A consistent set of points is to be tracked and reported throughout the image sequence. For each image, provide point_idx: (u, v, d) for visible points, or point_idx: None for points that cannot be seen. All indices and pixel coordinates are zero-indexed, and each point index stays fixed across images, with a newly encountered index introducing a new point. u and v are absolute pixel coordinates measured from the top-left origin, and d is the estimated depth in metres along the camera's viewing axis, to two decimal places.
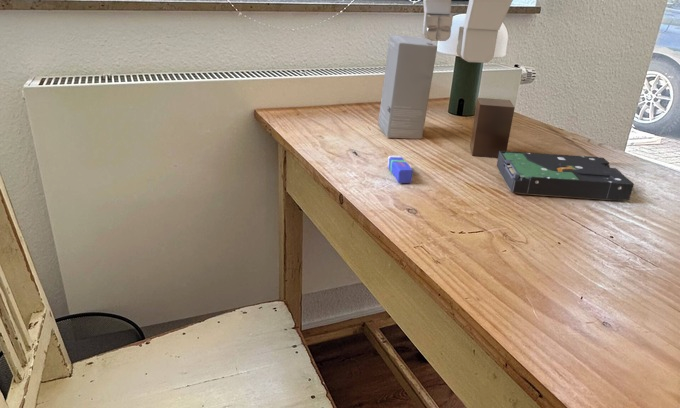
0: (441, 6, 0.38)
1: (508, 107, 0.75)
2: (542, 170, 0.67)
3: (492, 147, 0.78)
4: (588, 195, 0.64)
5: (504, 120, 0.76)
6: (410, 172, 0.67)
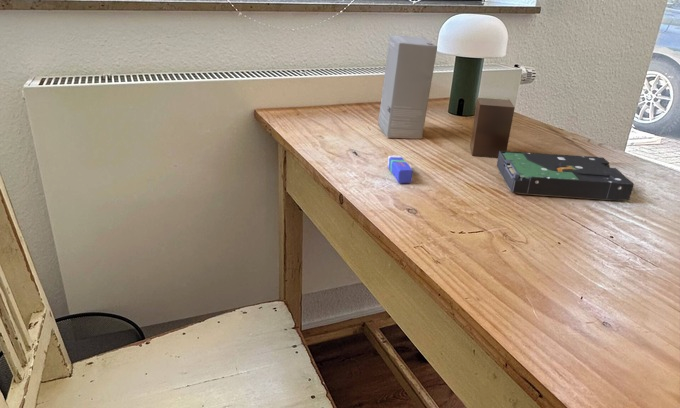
0: None
1: (508, 107, 0.75)
2: (542, 170, 0.67)
3: (492, 147, 0.78)
4: (588, 195, 0.64)
5: (504, 120, 0.76)
6: (410, 172, 0.67)
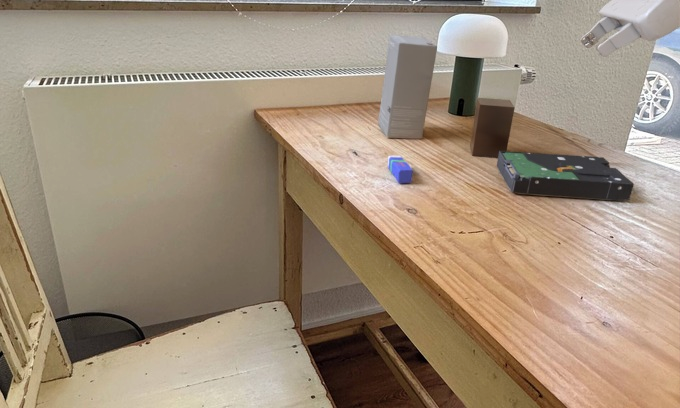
0: None
1: (508, 107, 0.75)
2: (542, 170, 0.67)
3: (492, 147, 0.78)
4: (588, 195, 0.64)
5: (504, 120, 0.76)
6: (410, 172, 0.66)
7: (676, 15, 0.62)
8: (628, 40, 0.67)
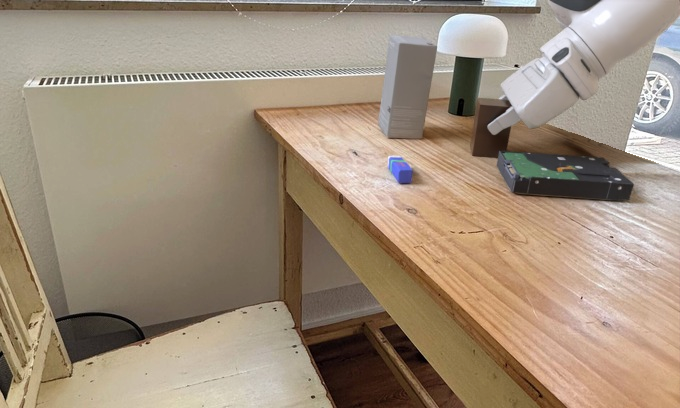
0: None
1: (508, 107, 0.75)
2: (542, 170, 0.67)
3: (492, 147, 0.78)
4: (588, 195, 0.64)
5: None
6: (410, 172, 0.66)
7: (550, 108, 0.67)
8: (512, 122, 0.74)
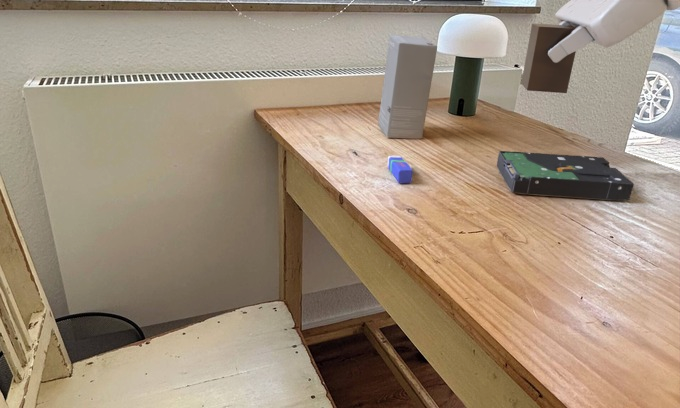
0: None
1: (573, 29, 0.63)
2: (542, 170, 0.67)
3: (552, 80, 0.66)
4: (588, 195, 0.64)
5: None
6: (410, 172, 0.66)
7: (633, 18, 0.55)
8: (579, 44, 0.62)
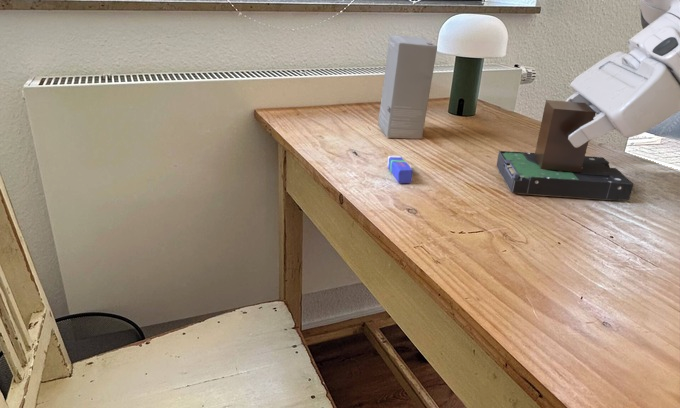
0: None
1: (588, 112, 0.63)
2: (542, 170, 0.67)
3: (566, 159, 0.66)
4: (588, 195, 0.64)
5: None
6: (410, 172, 0.66)
7: (654, 112, 0.54)
8: (601, 132, 0.59)
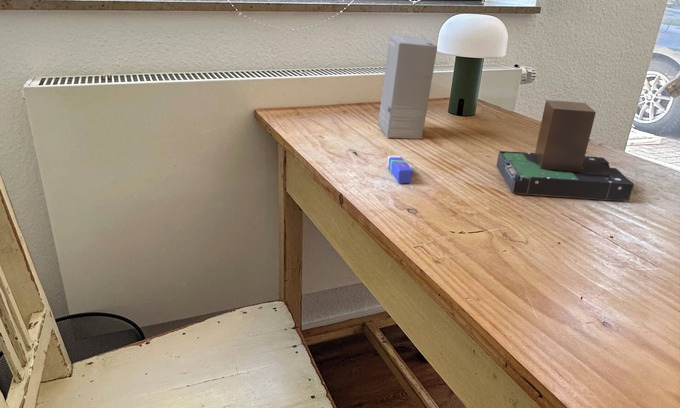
0: None
1: (588, 112, 0.63)
2: (542, 170, 0.67)
3: (566, 159, 0.66)
4: (588, 195, 0.64)
5: (582, 127, 0.64)
6: (410, 172, 0.66)
7: None
8: None
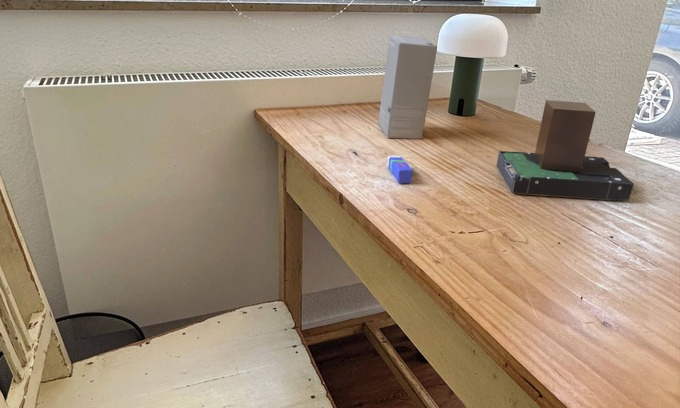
0: None
1: (588, 112, 0.63)
2: (542, 170, 0.67)
3: (566, 159, 0.66)
4: (588, 195, 0.64)
5: (582, 127, 0.64)
6: (410, 172, 0.66)
7: None
8: None
